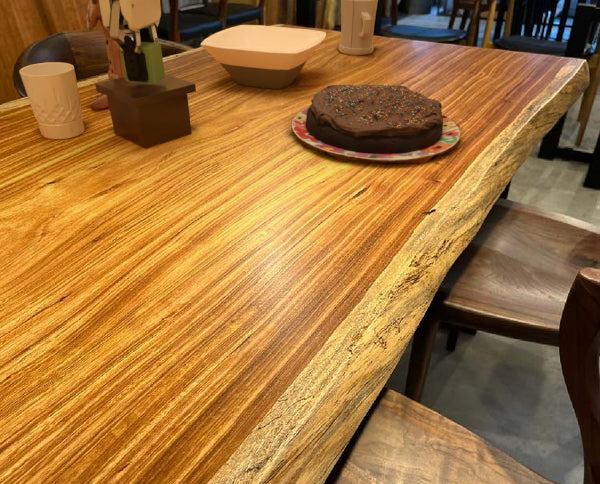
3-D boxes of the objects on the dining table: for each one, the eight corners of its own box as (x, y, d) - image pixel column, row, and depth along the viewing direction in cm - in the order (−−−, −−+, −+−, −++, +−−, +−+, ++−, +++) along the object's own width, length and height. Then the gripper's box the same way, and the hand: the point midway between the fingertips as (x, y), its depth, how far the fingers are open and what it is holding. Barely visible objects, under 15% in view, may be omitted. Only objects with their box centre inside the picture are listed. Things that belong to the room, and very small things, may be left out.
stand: (105, 134, 88) (95, 83, 83) (161, 117, 95) (154, 70, 90) (144, 152, 82) (134, 99, 77) (200, 133, 89) (195, 83, 84)
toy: (125, 81, 82) (118, 46, 79) (136, 75, 85) (130, 40, 82) (155, 83, 81) (150, 48, 78) (165, 77, 84) (160, 42, 81)
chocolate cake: (478, 169, 78) (488, 125, 75) (287, 166, 79) (287, 121, 75) (441, 107, 101) (447, 71, 97) (293, 105, 101) (293, 68, 97)
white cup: (69, 121, 93) (53, 59, 87) (98, 130, 89) (84, 67, 83) (28, 134, 88) (8, 69, 82) (57, 145, 84) (39, 78, 78)
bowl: (301, 102, 103) (302, 54, 97) (194, 89, 108) (189, 44, 103) (333, 72, 119) (334, 31, 114) (238, 63, 125) (236, 23, 120)
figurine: (103, 93, 106) (79, -25, 93) (143, 95, 105) (124, -23, 93) (78, 110, 97) (48, -17, 85) (122, 113, 96) (98, -15, 84)
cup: (385, 52, 135) (391, -2, 127) (364, 59, 129) (369, 3, 122) (352, 45, 140) (355, -7, 133) (330, 51, 135) (333, -3, 127)
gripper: (125, -71, 79) (146, 62, 90) (61, -63, 66) (95, 90, 77) (172, -70, 78) (188, 65, 89) (117, -62, 65) (143, 94, 76)
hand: (144, 75), depth 83 cm, fingers closed on toy, 3 cm apart
